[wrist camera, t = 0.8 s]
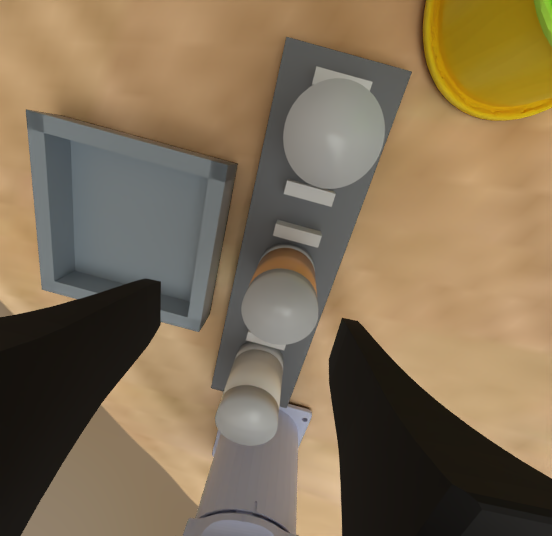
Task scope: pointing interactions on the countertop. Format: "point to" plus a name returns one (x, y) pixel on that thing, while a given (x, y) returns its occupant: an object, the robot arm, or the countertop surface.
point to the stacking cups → (491, 55)
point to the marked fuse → (282, 296)
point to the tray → (127, 214)
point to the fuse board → (302, 197)
